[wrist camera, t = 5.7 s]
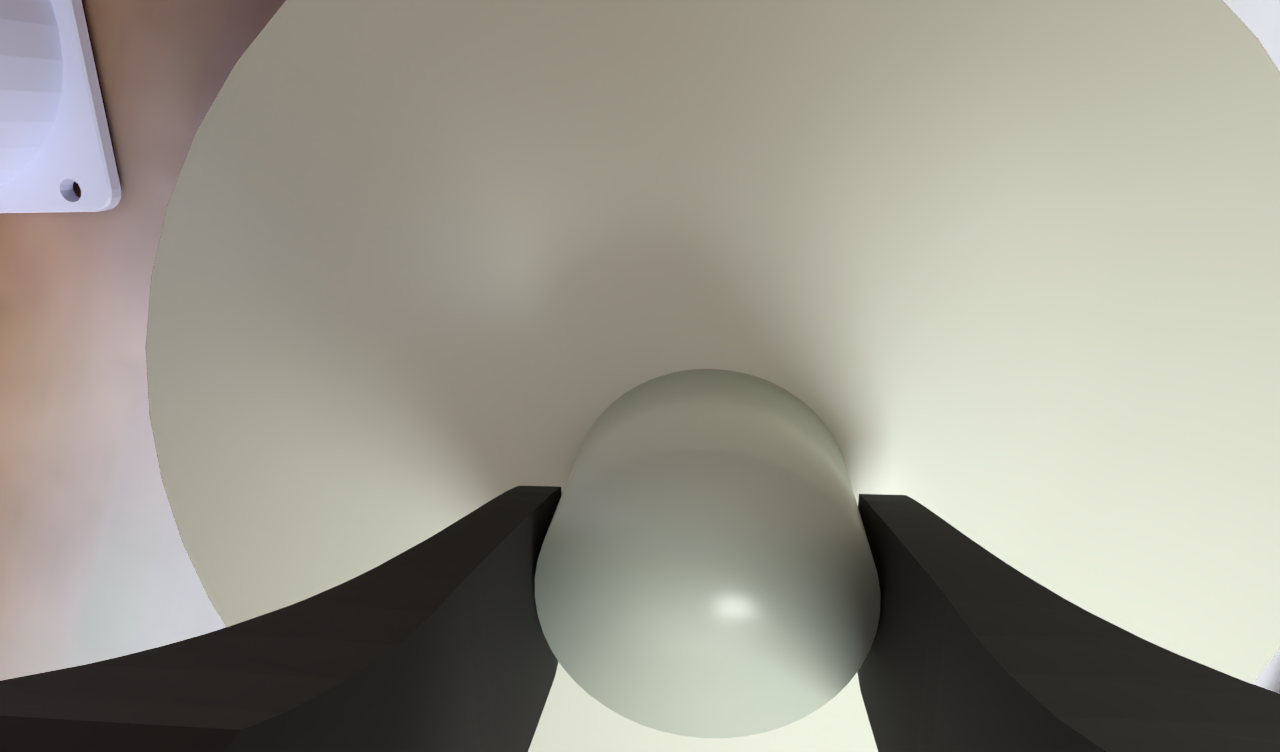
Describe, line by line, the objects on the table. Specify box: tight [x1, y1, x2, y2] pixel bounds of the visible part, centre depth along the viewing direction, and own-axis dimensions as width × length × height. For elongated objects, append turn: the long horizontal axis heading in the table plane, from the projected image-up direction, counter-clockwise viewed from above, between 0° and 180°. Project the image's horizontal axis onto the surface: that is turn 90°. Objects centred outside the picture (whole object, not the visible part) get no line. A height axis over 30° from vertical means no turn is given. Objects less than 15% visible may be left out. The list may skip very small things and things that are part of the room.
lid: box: [146, 0, 1280, 752], centre depth 11 cm, size 17×17×3 cm
